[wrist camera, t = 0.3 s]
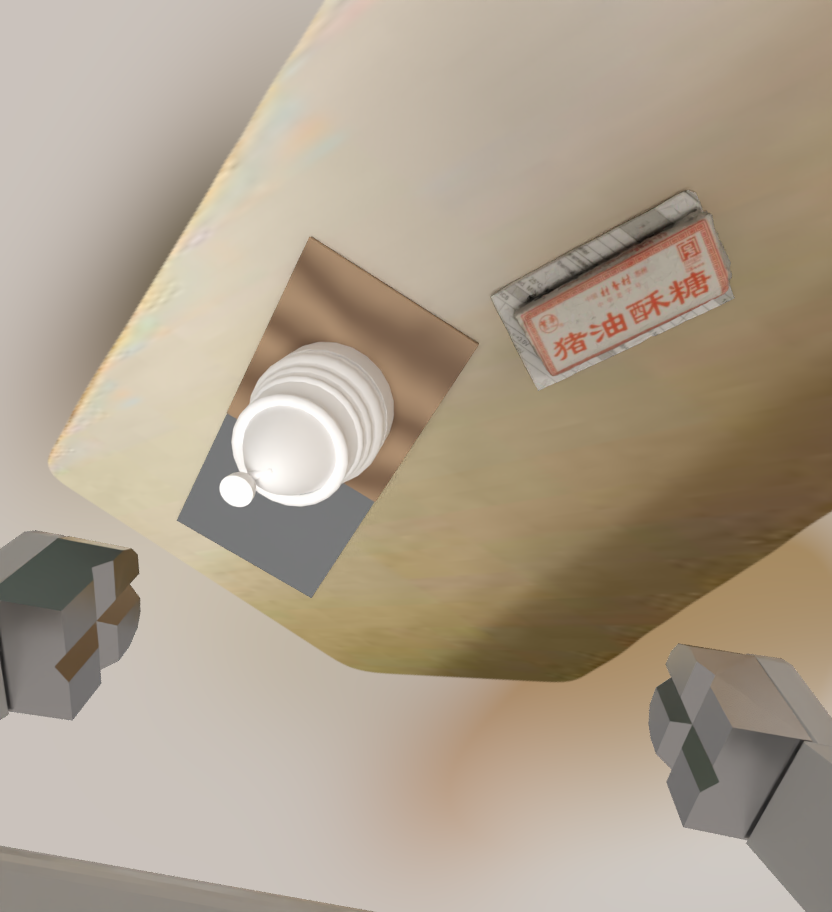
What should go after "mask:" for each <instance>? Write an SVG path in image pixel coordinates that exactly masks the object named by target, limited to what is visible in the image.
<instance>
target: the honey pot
mask: <svg viewBox="0 0 832 912" xmlns="http://www.w3.org/2000/svg"><path fill="white" fill-rule="evenodd" d="M393 418H394V401H393V397H392V394H391V390H390V387H389V384H388V382H387V380H386V379H385V377H384V375H383V374H382V372H381V370H380V369H379V368H378V367H377V366H376V365H375V364H374V363H373V362H372V361H371V360H370V359H369V358H368V357H367V356H365V355H364V354H362V353H360V352H359V351H357V350H356V349H354V348H352V347H349V346H345V345H342V344H339V343H335V342H317V343H312V344H308V345H304V346H302V347H300V348H298V349H297V350H295V351H293V352H292V353H290V354H288V355H287V356H285V357H284V358H282V359H281V360H279V361H278V362H276V363H275V364H273V365H272V366H270V367H269V368H268V369H267V371H266V372H265V373H264V374H263V375H262V376H261V377H260V378H259V380H258V381H257V384H256V386H255V388H254V390H253V392H252V394H251V398H250V403H249V405H248V406H247V407H246V408H245V409H244V410H243V411H242V413H241V414H240V415H239V417H238V419H237V421H236V423H235V425H234V428H233V434H232V441H231V443H232V450H233V457H234V459H235V462H236V464H237V467H238V469H239V471H240V472H236V473H232V474H230V475H228V476H226V477H225V478H224V479H223V480H222V481H221V483H220V493H221V496H222V497H223V499H224V500H225V501H226V502H227V503H229V504H230V505H232V506H235V507H244V506H247V505H248V504H249V503H250V502H251V501H252V499H253V498H254V496H255V493H256V491H257V492H258V493H260V494H261V495H263V496H265V497H266V498H268V499H270V500H272V501H274V502H277V503H281V504H284V505H287V506H300V507H302V506H308V505H313V504H317V503H319V502H321V501H323V500H325V499H327V498H329V497H330V496H331V495H332V494H333V493H334V492H335V491H336V490H338V489H339V487H340V485H341V484H342V483H344V482H346V481H348V480H351V479H353V478H355V477H357V476H358V475H360V474H361V473H362V472H363V471H364V470H365V469H366V468H367V467H368V466H370V465H371V463H372V462H373V460H374V459H375V457H376V455H377V454H378V452H379V450H380V448H381V447H382V445H383V443H384V441H385V440H386V438H387V436H388V434H389V433H390V429H391V426H392V422H393ZM310 492H312V493H310ZM304 493H306V494H304ZM300 494H301V495H300Z"/></svg>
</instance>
